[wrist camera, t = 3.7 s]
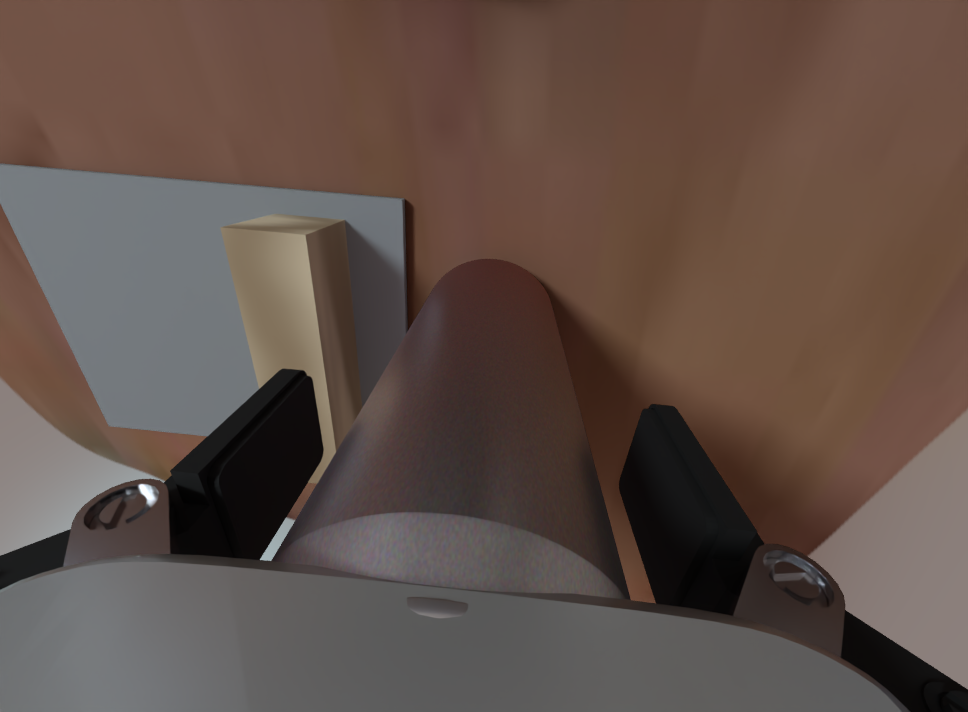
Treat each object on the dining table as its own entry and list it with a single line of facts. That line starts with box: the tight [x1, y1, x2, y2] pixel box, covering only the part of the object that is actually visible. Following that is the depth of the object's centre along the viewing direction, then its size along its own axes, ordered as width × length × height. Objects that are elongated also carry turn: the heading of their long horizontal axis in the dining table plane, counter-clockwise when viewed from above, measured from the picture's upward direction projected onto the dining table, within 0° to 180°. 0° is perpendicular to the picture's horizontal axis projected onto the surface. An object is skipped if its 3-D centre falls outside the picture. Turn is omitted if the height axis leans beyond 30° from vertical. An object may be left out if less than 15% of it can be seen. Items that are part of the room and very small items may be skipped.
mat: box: [0, 164, 408, 436], centre depth 19 cm, size 18×14×1 cm
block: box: [220, 214, 362, 483], centre depth 18 cm, size 3×12×4 cm, turn 176°
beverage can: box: [272, 259, 631, 618], centre depth 12 cm, size 6×6×15 cm
